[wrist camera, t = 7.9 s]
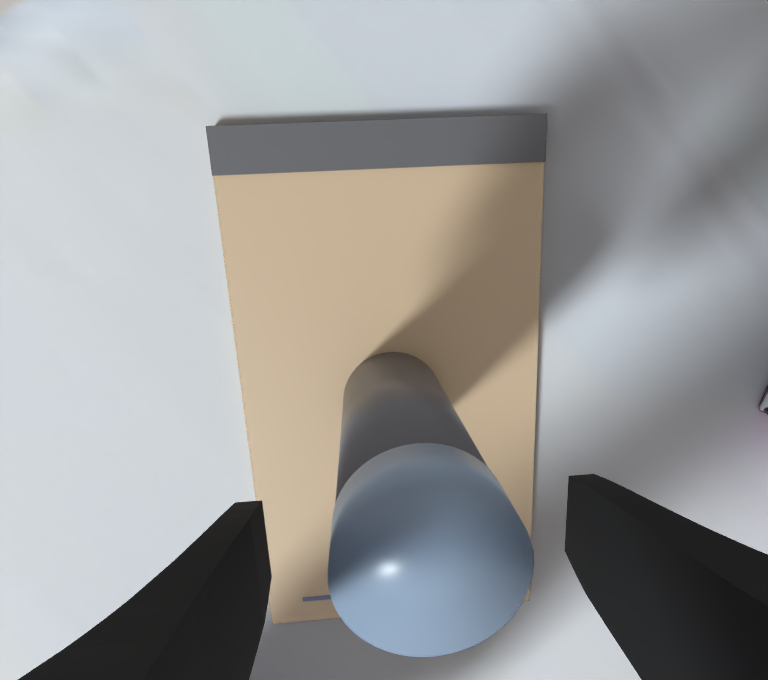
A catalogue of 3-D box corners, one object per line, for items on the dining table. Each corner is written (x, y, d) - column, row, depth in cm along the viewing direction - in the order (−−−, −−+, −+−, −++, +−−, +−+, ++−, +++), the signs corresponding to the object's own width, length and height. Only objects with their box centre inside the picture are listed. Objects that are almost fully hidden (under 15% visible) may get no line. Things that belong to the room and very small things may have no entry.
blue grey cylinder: (346, 449, 18) (336, 666, 9) (337, 354, 17) (317, 490, 8) (443, 440, 18) (531, 645, 9) (440, 347, 17) (536, 470, 8)
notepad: (273, 616, 20) (271, 626, 20) (210, 129, 16) (205, 126, 15) (525, 593, 21) (529, 602, 20) (541, 117, 16) (547, 113, 16)
